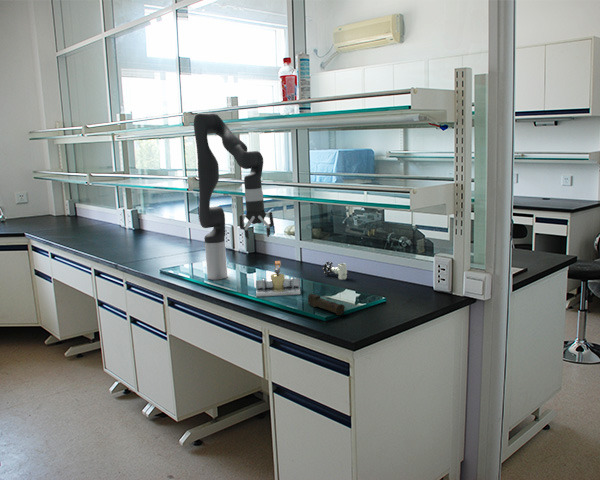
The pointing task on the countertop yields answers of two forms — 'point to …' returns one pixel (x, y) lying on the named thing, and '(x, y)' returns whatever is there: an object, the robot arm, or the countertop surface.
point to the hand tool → (325, 304)
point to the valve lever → (277, 267)
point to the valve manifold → (278, 286)
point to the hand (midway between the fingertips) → (257, 237)
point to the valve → (336, 270)
